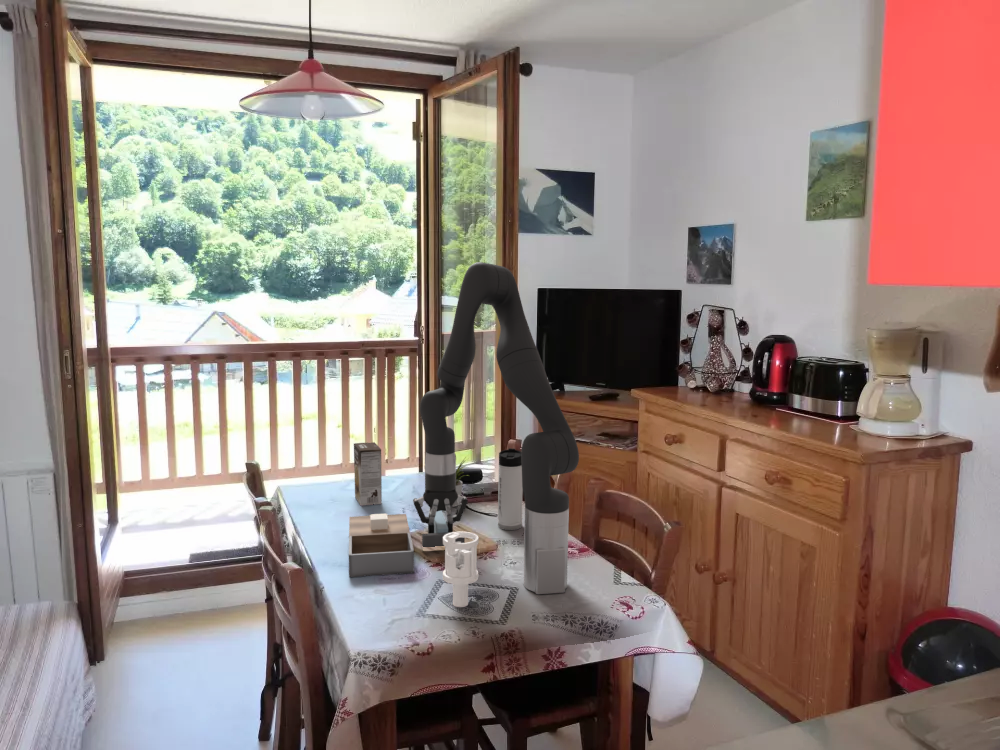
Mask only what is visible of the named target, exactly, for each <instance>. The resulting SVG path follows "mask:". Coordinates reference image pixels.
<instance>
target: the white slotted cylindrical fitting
mask: <svg viewBox="0 0 1000 750" xmlns="http://www.w3.org/2000/svg"><path fill="white" fill-rule="evenodd" d="M460 537H463V538H465V539H471V541H468V542H465V543H461V542H455V539H457V538H460ZM443 545H444V546H445V551H444V570H443V571H442V580H443V581H444V582H445V583H447V584H451V585H452V605H453V606H454V607H456V608H464V607H467V606H468V605H469V584H473V583H476V582H477V581H478V579H479V571H478V569H477V564H478V562H477V560H478V559H477V552H478V551H477V549H478V548H477V546H478V545H479V535H478V534H476V533H474V532H469V531H464V532H463V531H462V530H461V531H453V532H451V533H448V534H446V535H444V536H443Z"/></svg>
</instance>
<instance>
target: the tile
mask: <svg viewBox="0 0 1000 750" xmlns="http://www.w3.org/2000/svg"><path fill="white" fill-rule="evenodd" d="M387 515H388V513H372V514H369V516H370V526H371V530H378V529H388V517H387Z"/></svg>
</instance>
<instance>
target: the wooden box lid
mask: <svg viewBox="0 0 1000 750" xmlns="http://www.w3.org/2000/svg"><path fill="white" fill-rule="evenodd" d="M387 517H388V529H378V530H371V526H370V515H359V516H357V515H356V516H349V518H348V519H349V523H348V525H349V527H348V531H349V532H348V535H349V536H352V554H362V553H379V552H396V551H408V540H407V533H410V534H411V531H410V527H409V522H408V517H407V513H403V514H402V513H399V514H387ZM349 536H348V537H349Z"/></svg>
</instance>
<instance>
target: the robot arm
mask: <svg viewBox="0 0 1000 750" xmlns="http://www.w3.org/2000/svg"><path fill="white" fill-rule="evenodd" d="M482 305H488V306H492V308H493V310H494V312H495V314H496V318H497V320H498V322H499V326H500V328H499V329H500V333H499V338H498V342H497V347H496V351H495V353H496V354H495V355H496V363H497V364H498V368H499V371H500V373H501V377H502V380H503V382H504V384H505V386H506V387H507V389H508V390H509V391H510V392H511V394H513V395H514V396H515V398H516V399H518V401H520V402H521V404H522V405H524V406H525V407H526V408H527V409H528V410H529V411H530V412H531V413H532V414H533V415H534V416H535V418H536V420H537V421H538V423H539V426H540V427H541V430H542V431H539V432H533V433H530V434H527V436H525V438H523V441H522V444H521V445H522V446H521V450H520V451H521V465H522V489H523V490H522V495H523V498H524V535H523V536H524V539H523V542H524V544H523V549H524V550H523V552H524V553H523V586H524V588H526V590H529V591H530V592H531V591H532V592H533V593H535V594H536V595H547V594H548V595H549V594H558V593H559V594H560V593H561V594H562V593H566V589H567V588H568V563H569V562H568V560H569V559H568V558H569V556H568V555H569V521H570V520H569V519H570V517H569V515H570V514H569V513H570V497H569V494H568V493H567V492H566V491H564V490H562V489H559V488H555V487H552V484H551V477H552V476H558V475H564V474H567V473H572V472H574V471H575V470H576V468H577V467H578V465H579V461H580V451H579V447H578V444H577V441H576V438H575V436H574V433H573V432H572V430H571V428H570V426H569V423H568V421H567V420H566V417H565V415H564V413H563V411H562V410H561V407H560V405H559V402H558V400H557V398H556V396H555V394H554V391H553V389H552V386H551V383H550V381H549V378H548V376H547V373H546V369H545V366H544V364H543V361H542V359H541V355H540V352H539V350H538V347H537V345H536V342H535V340H534V339H533V336H532V333H531V329H530V327H529V324H528V320H527V318H526V315H525V312H524V308H523V304H522V300H521V297H520V292H519V288H518V283H517V281H516V277H515V276H514V274H513V273H512V271H511V270H510V269H509V268H507V267H506V266H502V265H498V264H493V263H488V262H482V261H477V262H475V263H472V264H471V265H470V266H469V267H468V268H467V270H466V272H465V274H464V277H463V280H462V283H461V286H460V291H459V295H458V300H457V304H456V310H455V313H454V319H453V323H452V327H451V332H450V336H449V339H448V342H447V346H446V348H445V351H444V353H443V355H442V358H441V360H440V364H439V366H438V369H437V377H438V379H439V380H440V385H439V387H438V389H434V390H433V389H432V390H429V391H427V392H425V394H424V395H423V396H422V397H421V399H420V403H419V405H420V406H419V412H420V413H419V414H420V417H421V422H422V426H423V430H424V433H425V458H424V492H423V494H422V496H421V497H419V498H416V497H415V498H413V499H412V502H413V505H414V507H415V510H416V512H417V514H418V515H417V516H418V517H419V519H420V521H421V523H422V524H427V534H428V533H434V519H435V516H436V512H437V511H442V512H445V515H446V520H447V521H446V523H447V526H448V532H454V531H453V530H454V529H453V528H454V523H456V522H460V521H461V519H462V516H463V514H464V512H465V510H466V508H467V507H466V506H467V505H468V502H469V499H468V498H467V496H466V495H461V496H459V495H458V494H457V492H456V471H457V457H456V458H455V454H456V453H455V452H456V436H455V435H456V434H455V431H454V429H453V428H451V427H449V426H448V424H447V417H450V416H453V415H455V413H457V411H458V410H459V409H460V406H461V405H462V401H463V399H464V392H465V387H466V385H465V384H466V380H467V377H468V375H469V373H470V370H471V367H472V365H473V362H474V360H475V356H476V349H477V348H476V337H475V320H476V317H477V314H478V311H479V309H480V307H481V306H482ZM456 500H458V504H459V505H458V506H457V508H456V511H455V512H454V513H455V514H454V515H453V513H452V505H453V504H454V503H455V501H456ZM424 503H426V505H427V506H428V507H429V512H428V516H426V515H425V513H424V510H423V509H422V508H423V506H424Z"/></svg>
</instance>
